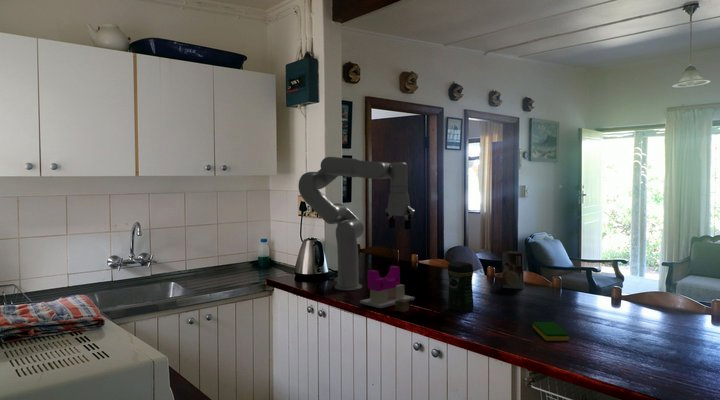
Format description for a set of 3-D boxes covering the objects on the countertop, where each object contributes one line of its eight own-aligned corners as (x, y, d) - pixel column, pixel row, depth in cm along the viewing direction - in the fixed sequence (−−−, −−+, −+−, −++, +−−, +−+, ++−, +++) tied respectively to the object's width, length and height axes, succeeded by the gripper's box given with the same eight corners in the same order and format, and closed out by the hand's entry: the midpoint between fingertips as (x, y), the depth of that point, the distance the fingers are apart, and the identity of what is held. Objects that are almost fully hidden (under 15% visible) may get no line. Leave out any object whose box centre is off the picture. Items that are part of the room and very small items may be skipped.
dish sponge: (545, 342, 162) (545, 334, 161) (532, 328, 175) (532, 321, 175) (569, 342, 161) (569, 334, 161) (554, 328, 175) (554, 321, 175)
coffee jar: (477, 310, 198) (477, 262, 197) (462, 313, 194) (461, 264, 193) (459, 305, 206) (459, 259, 205) (444, 308, 202) (444, 261, 201)
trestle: (360, 303, 212) (359, 288, 212) (394, 294, 226) (394, 281, 225) (380, 308, 203) (380, 293, 203) (414, 299, 217) (414, 285, 216)
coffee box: (524, 286, 238) (524, 251, 238) (523, 289, 232) (523, 253, 232) (503, 285, 242) (503, 250, 241) (502, 288, 236) (502, 252, 235)
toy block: (378, 291, 207) (377, 272, 206) (367, 288, 211) (367, 270, 211) (404, 285, 217) (404, 267, 216) (393, 283, 221) (393, 265, 221)
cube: (395, 311, 200) (394, 300, 199) (400, 308, 203) (399, 298, 203) (404, 312, 197) (404, 302, 197) (409, 310, 201) (409, 299, 200)
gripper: (379, 190, 234) (380, 227, 235) (407, 190, 221) (408, 230, 222) (391, 189, 239) (391, 226, 240) (419, 190, 226) (419, 229, 227)
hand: (399, 228), depth 231 cm, fingers open, 9 cm apart
